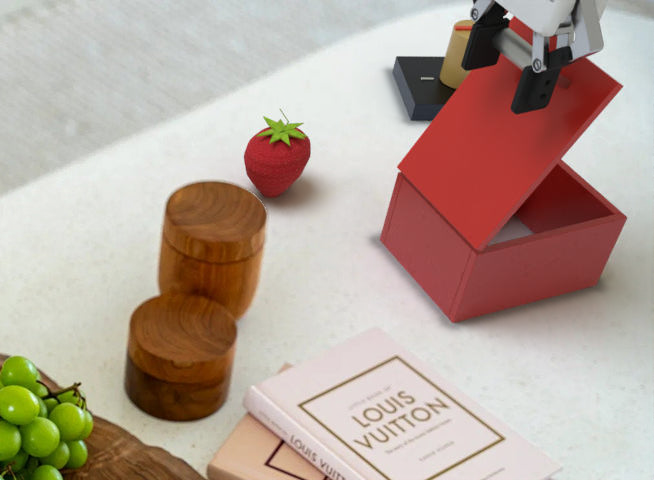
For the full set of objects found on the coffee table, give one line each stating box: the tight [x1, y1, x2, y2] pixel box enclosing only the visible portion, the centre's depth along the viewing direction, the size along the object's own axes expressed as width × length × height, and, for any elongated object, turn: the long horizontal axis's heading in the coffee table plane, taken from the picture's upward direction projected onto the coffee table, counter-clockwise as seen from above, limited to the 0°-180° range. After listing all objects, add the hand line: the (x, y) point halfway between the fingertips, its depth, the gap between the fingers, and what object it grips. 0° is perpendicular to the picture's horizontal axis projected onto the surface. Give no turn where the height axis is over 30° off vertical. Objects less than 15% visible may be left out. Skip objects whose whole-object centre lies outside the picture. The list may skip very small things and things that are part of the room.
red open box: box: [379, 158, 628, 324], centre depth 106 cm, size 16×13×9 cm
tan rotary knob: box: [440, 19, 475, 89], centre depth 125 cm, size 4×4×6 cm
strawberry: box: [243, 108, 312, 199], centre depth 113 cm, size 6×8×10 cm
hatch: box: [396, 15, 624, 251], centre depth 96 cm, size 16×13×5 cm
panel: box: [391, 55, 457, 122], centre depth 128 cm, size 12×10×3 cm
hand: (503, 85), depth 93 cm, fingers closed on hatch, 6 cm apart
